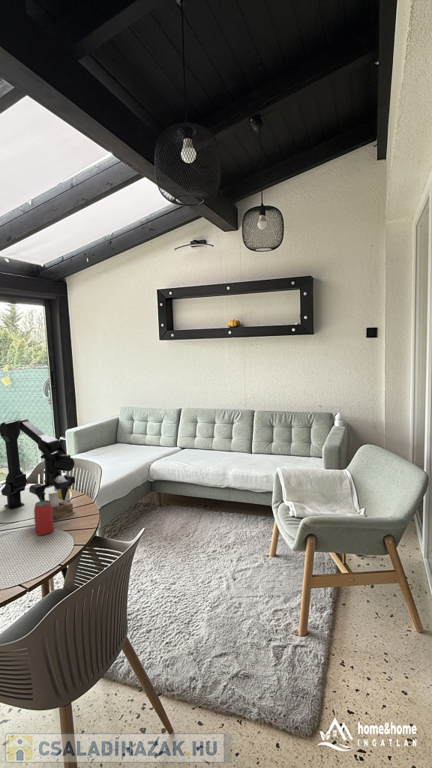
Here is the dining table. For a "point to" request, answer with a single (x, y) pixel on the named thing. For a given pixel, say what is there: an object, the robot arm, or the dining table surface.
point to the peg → (54, 499)
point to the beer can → (43, 518)
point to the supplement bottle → (60, 492)
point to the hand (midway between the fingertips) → (54, 503)
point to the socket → (62, 509)
